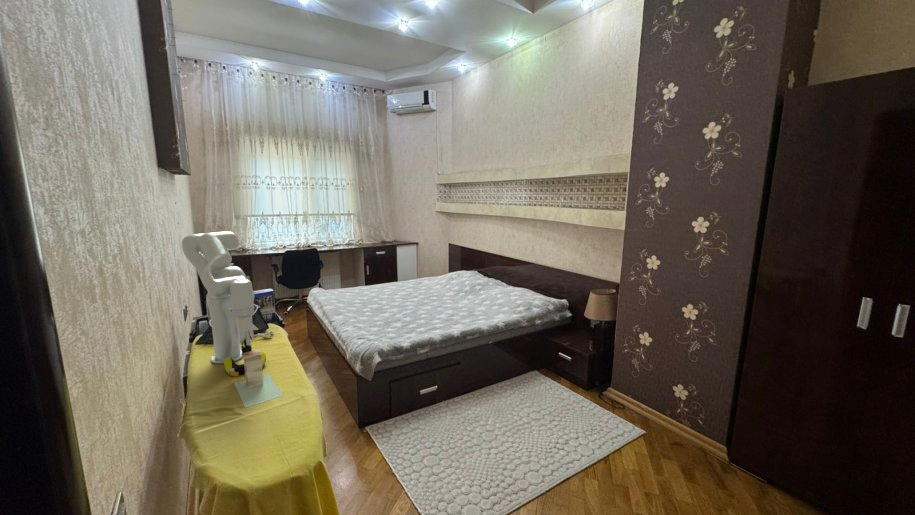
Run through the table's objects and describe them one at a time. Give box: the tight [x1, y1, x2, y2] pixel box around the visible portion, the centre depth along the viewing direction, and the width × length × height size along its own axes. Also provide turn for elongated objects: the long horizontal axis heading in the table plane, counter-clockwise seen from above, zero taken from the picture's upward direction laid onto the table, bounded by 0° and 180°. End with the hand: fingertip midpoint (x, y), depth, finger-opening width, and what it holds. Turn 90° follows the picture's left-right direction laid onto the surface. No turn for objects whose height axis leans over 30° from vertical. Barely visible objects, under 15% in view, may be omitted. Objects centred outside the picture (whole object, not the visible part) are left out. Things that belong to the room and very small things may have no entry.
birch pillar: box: [243, 349, 264, 388], centre depth 139 cm, size 5×5×12 cm
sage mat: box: [234, 373, 283, 409], centre depth 136 cm, size 20×12×1 cm, turn 40°
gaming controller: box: [223, 351, 267, 377], centre depth 150 cm, size 15×6×10 cm
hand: (247, 355), depth 147 cm, fingers closed
